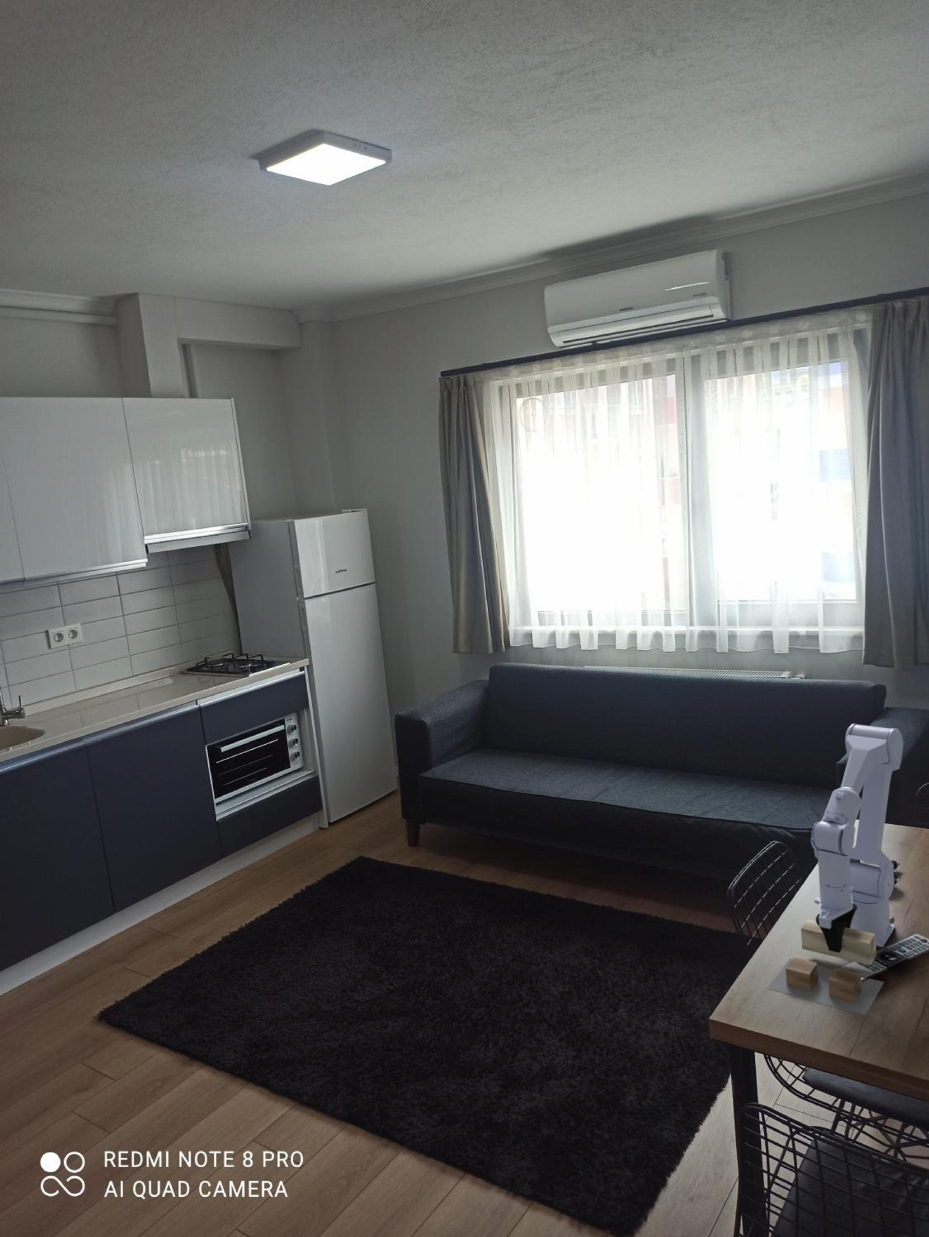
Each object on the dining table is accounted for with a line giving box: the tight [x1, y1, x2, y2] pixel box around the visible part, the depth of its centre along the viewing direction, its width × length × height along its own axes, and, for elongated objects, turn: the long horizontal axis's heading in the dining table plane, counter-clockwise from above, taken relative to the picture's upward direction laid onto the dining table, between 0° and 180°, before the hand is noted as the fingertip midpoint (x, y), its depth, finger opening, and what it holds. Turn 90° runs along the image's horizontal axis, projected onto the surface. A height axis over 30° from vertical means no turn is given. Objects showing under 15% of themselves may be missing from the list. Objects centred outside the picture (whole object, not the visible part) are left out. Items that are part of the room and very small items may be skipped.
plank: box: [800, 918, 877, 966], centre depth 181 cm, size 4×13×4 cm, turn 51°
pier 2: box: [828, 967, 862, 1003], centre depth 172 cm, size 4×4×4 cm
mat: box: [767, 958, 885, 1016], centre depth 176 cm, size 12×18×1 cm, turn 51°
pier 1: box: [786, 957, 818, 991], centre depth 177 cm, size 4×4×4 cm
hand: (838, 945), depth 181 cm, fingers closed on plank, 4 cm apart
